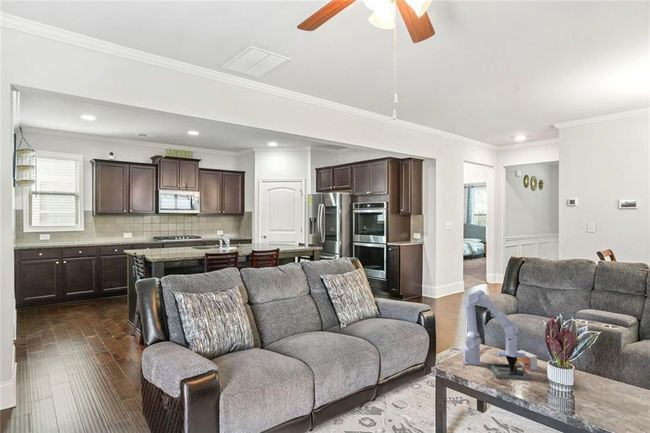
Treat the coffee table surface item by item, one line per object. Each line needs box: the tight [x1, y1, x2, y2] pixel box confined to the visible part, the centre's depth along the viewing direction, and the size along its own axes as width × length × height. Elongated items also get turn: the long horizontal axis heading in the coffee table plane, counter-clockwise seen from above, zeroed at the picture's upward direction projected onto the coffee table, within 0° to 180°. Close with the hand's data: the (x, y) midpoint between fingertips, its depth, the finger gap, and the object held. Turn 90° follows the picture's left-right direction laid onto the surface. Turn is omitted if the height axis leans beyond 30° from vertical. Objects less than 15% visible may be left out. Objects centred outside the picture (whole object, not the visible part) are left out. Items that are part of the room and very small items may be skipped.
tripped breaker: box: [513, 364, 520, 372], centre depth 211 cm, size 3×2×4 cm
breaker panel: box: [488, 362, 532, 381], centre depth 212 cm, size 18×16×5 cm
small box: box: [516, 349, 538, 371], centre depth 220 cm, size 8×6×10 cm
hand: (511, 369), depth 212 cm, fingers closed
